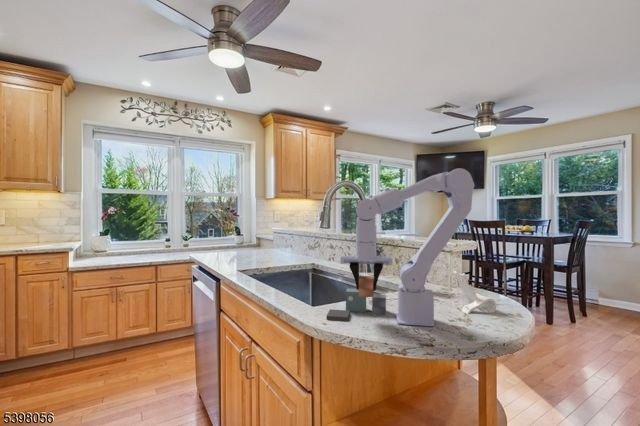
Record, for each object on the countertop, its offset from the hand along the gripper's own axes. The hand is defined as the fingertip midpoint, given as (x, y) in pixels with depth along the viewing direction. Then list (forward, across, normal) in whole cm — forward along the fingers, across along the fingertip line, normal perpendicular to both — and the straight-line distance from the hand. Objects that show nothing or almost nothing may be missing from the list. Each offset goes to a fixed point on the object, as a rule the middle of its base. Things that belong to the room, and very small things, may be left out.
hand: (366, 289), depth 91 cm
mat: (+8, +8, 0) cm, 12 cm away
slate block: (+8, -4, -6) cm, 11 cm away
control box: (+8, +4, -8) cm, 12 cm away
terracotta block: (+2, 0, 0) cm, 2 cm away
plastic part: (+9, -32, -15) cm, 37 cm away
